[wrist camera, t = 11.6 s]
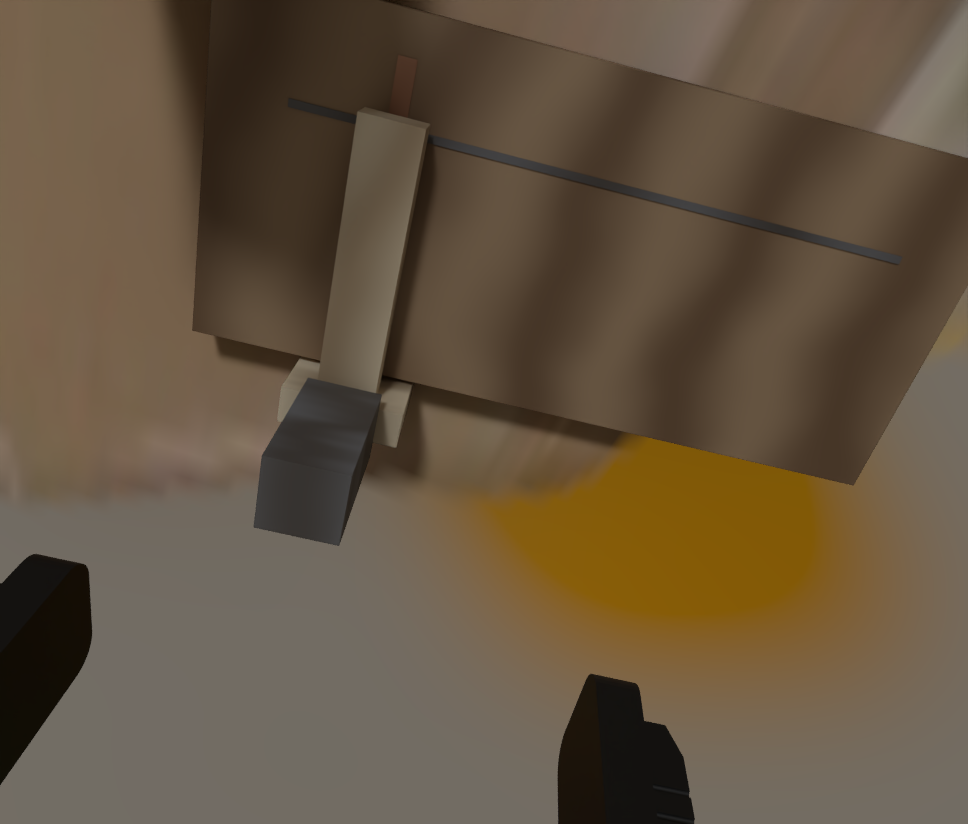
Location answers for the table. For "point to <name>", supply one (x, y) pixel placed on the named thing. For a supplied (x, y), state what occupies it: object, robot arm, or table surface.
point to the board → (582, 232)
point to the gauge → (348, 345)
